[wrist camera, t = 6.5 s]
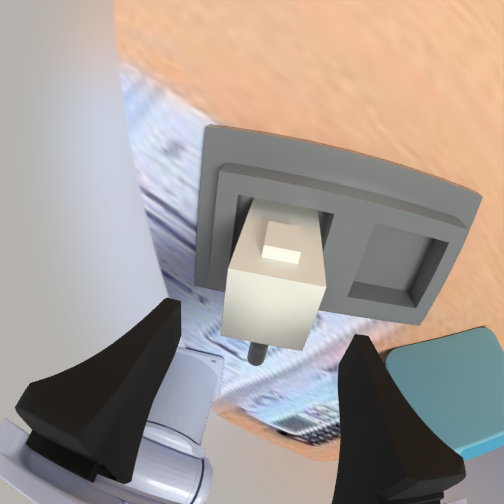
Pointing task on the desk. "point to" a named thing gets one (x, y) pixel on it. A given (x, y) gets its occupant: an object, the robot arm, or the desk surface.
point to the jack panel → (337, 219)
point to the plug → (274, 278)
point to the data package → (455, 388)
